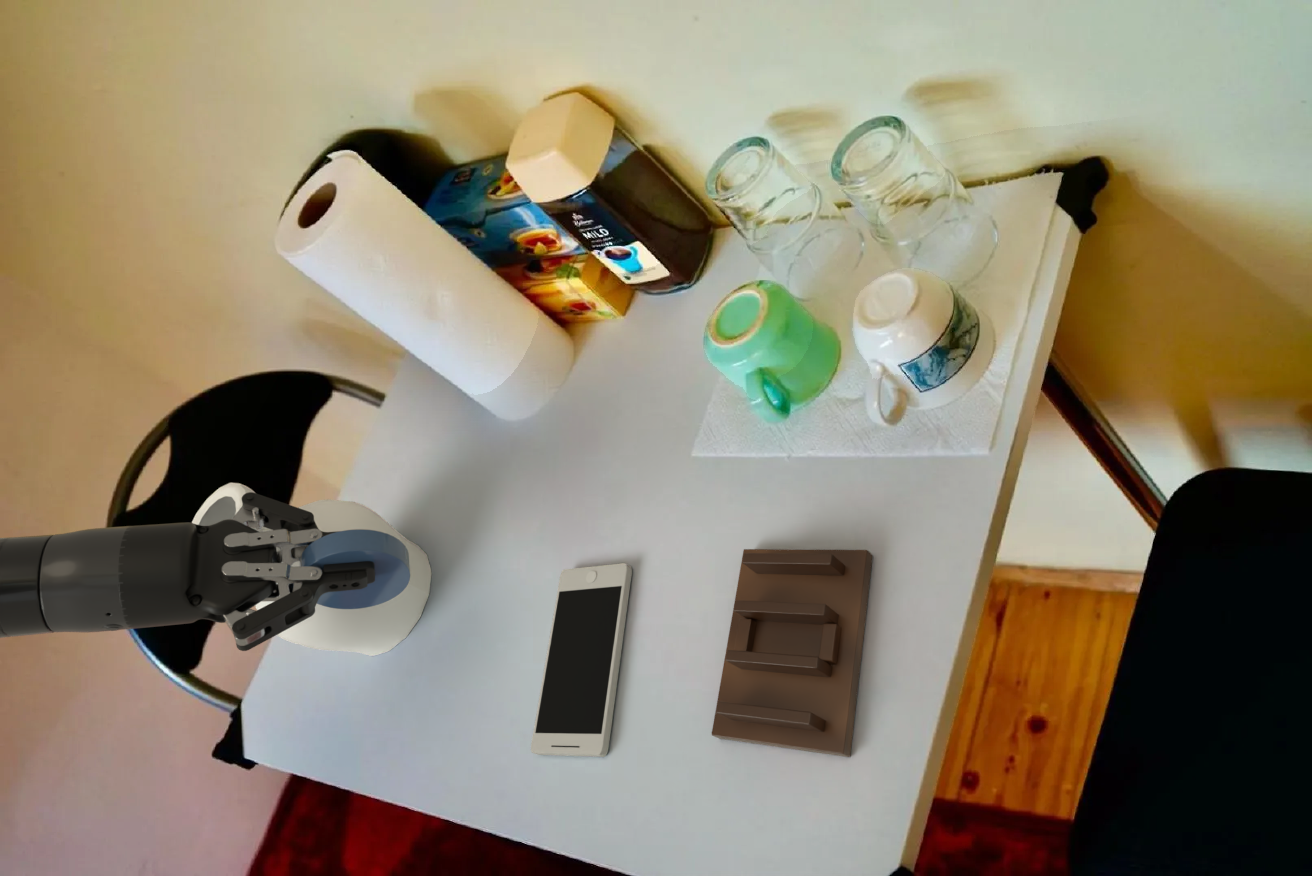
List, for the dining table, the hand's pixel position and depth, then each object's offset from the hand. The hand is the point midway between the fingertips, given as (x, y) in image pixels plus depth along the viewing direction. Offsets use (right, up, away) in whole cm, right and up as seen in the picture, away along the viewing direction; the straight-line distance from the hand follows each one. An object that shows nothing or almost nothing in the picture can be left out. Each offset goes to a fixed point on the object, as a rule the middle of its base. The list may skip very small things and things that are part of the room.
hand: (373, 557), depth 71 cm
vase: (-5, -7, +20) cm, 22 cm away
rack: (+32, -6, -7) cm, 34 cm away
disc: (-2, -1, +1) cm, 2 cm away
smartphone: (+17, -9, +3) cm, 19 cm away
